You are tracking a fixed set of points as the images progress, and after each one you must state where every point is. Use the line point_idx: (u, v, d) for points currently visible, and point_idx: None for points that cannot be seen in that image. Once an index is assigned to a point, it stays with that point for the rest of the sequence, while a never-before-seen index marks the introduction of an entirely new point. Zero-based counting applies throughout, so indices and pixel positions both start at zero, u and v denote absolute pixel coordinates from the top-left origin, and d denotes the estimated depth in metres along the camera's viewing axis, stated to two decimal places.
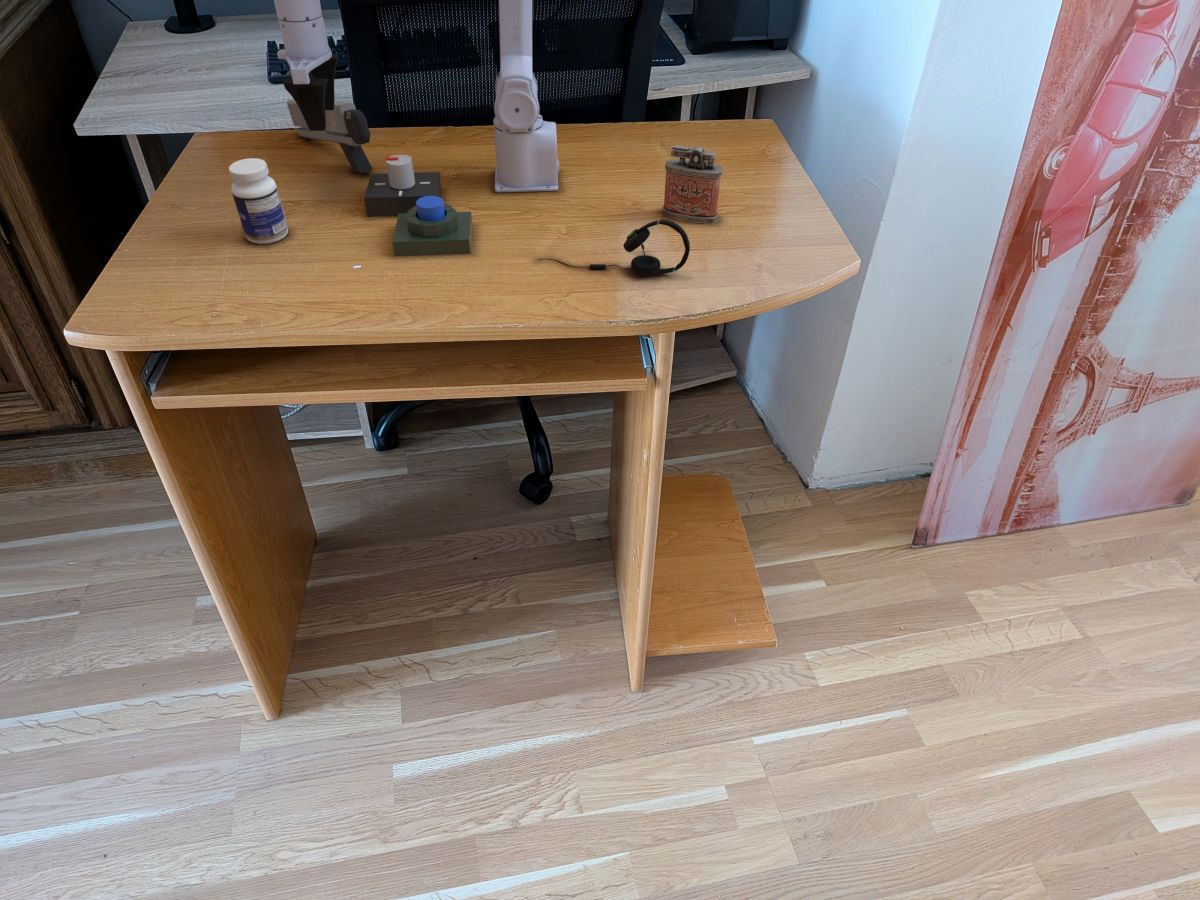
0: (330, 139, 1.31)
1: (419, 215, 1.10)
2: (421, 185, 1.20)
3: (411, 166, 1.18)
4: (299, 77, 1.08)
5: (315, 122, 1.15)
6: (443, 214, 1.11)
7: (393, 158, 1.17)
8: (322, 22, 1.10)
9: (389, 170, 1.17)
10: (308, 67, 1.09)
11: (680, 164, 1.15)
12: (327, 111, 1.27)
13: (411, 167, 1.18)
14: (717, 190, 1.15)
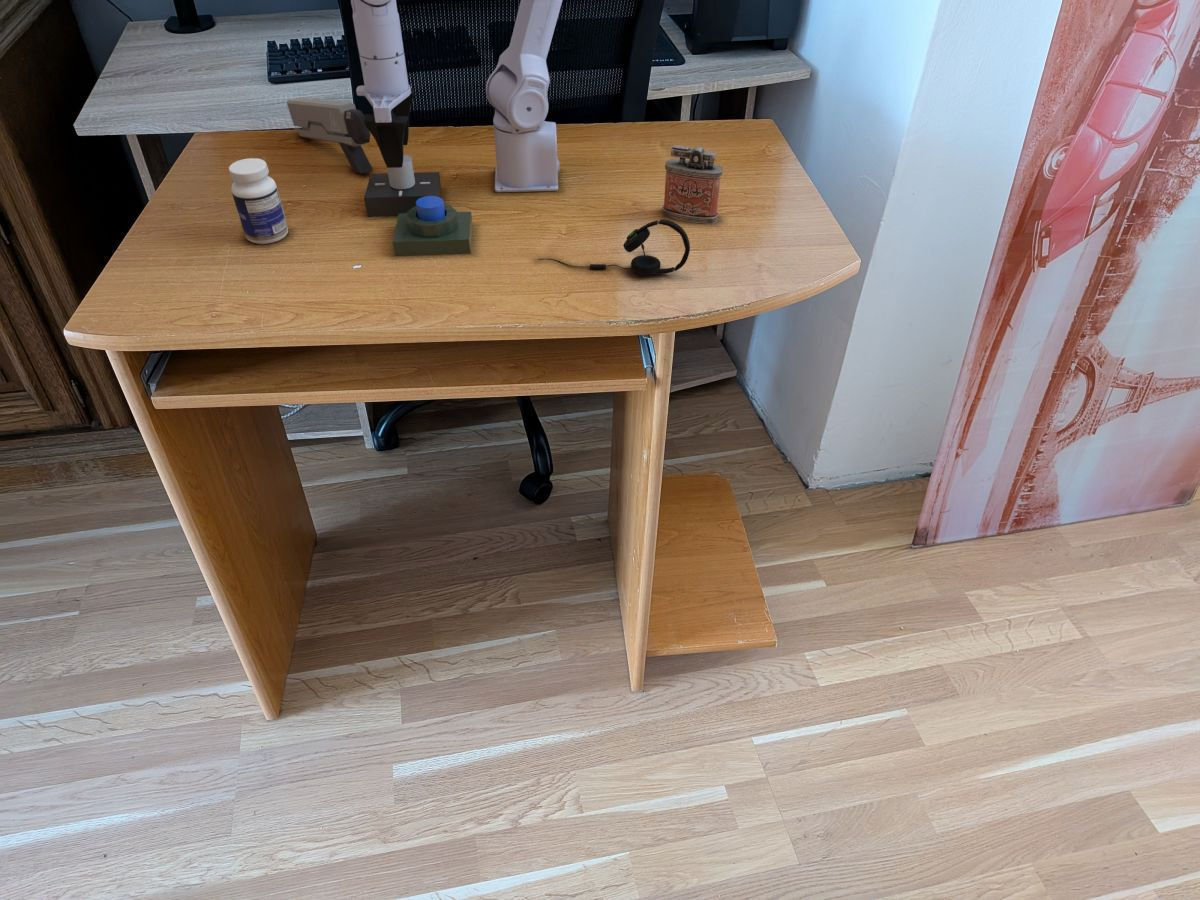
0: (330, 139, 1.31)
1: (419, 215, 1.10)
2: (421, 185, 1.20)
3: (411, 166, 1.18)
4: (382, 116, 1.06)
5: (393, 159, 1.13)
6: (443, 214, 1.11)
7: None
8: (404, 59, 1.08)
9: (389, 170, 1.17)
10: (390, 105, 1.07)
11: (680, 164, 1.15)
12: (327, 111, 1.27)
13: (411, 167, 1.18)
14: (717, 190, 1.15)
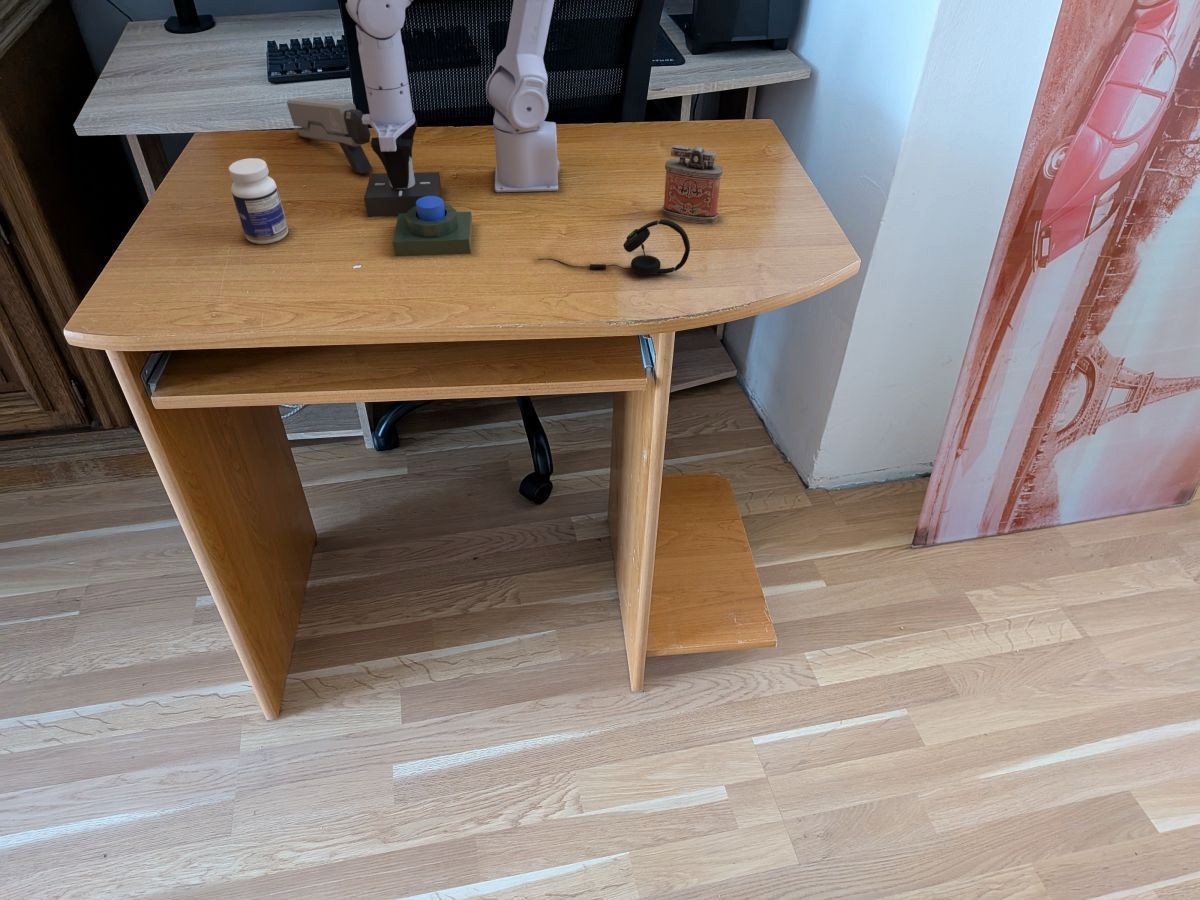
0: (330, 139, 1.31)
1: (419, 215, 1.10)
2: (421, 185, 1.20)
3: (411, 166, 1.18)
4: (387, 145, 1.09)
5: (399, 180, 1.17)
6: (443, 214, 1.11)
7: None
8: (408, 89, 1.11)
9: None
10: (395, 134, 1.09)
11: (680, 164, 1.15)
12: (327, 111, 1.27)
13: (411, 167, 1.18)
14: (717, 190, 1.15)
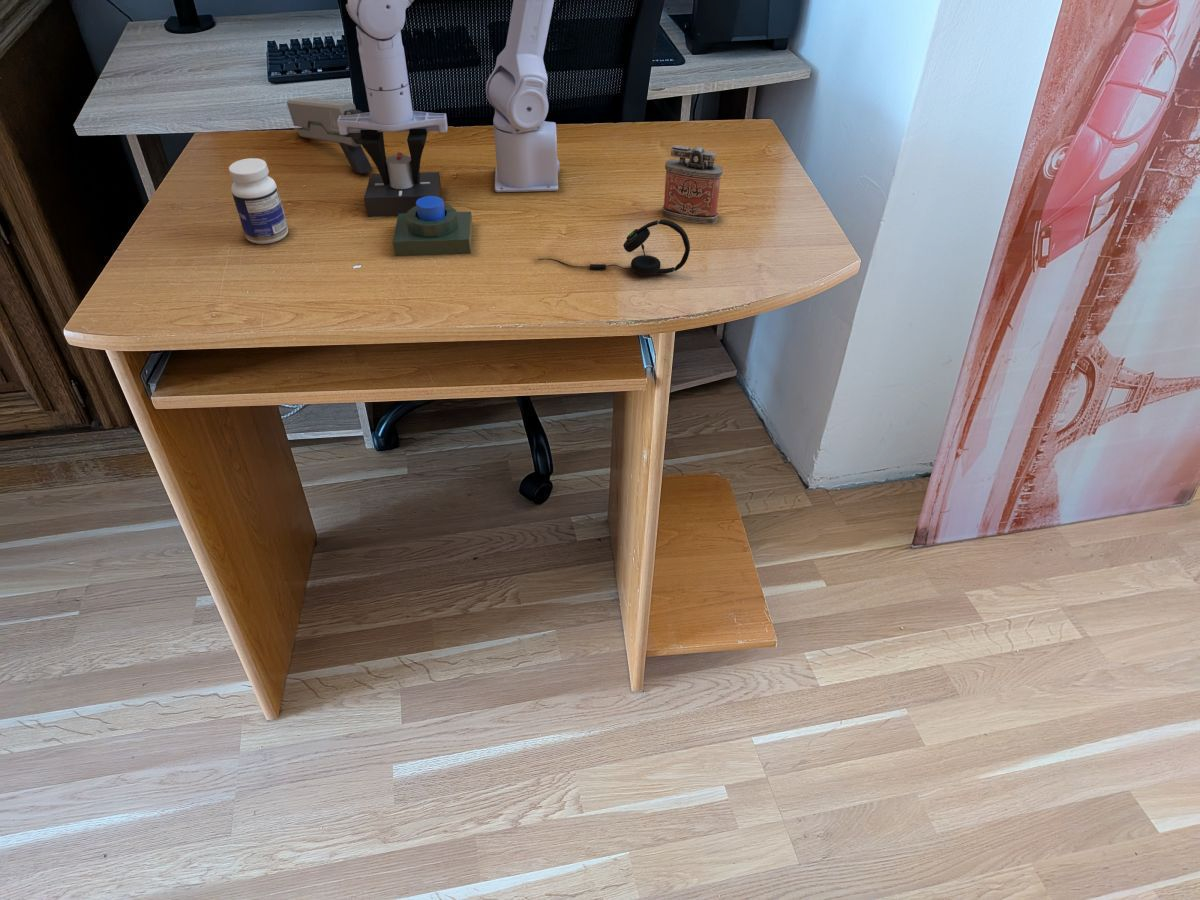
0: (330, 139, 1.31)
1: (419, 215, 1.10)
2: (421, 185, 1.20)
3: (394, 170, 1.17)
4: None
5: None
6: (443, 214, 1.11)
7: (397, 155, 1.18)
8: (382, 96, 1.09)
9: None
10: (346, 122, 1.12)
11: (680, 164, 1.15)
12: (327, 111, 1.27)
13: (395, 171, 1.17)
14: (717, 190, 1.15)
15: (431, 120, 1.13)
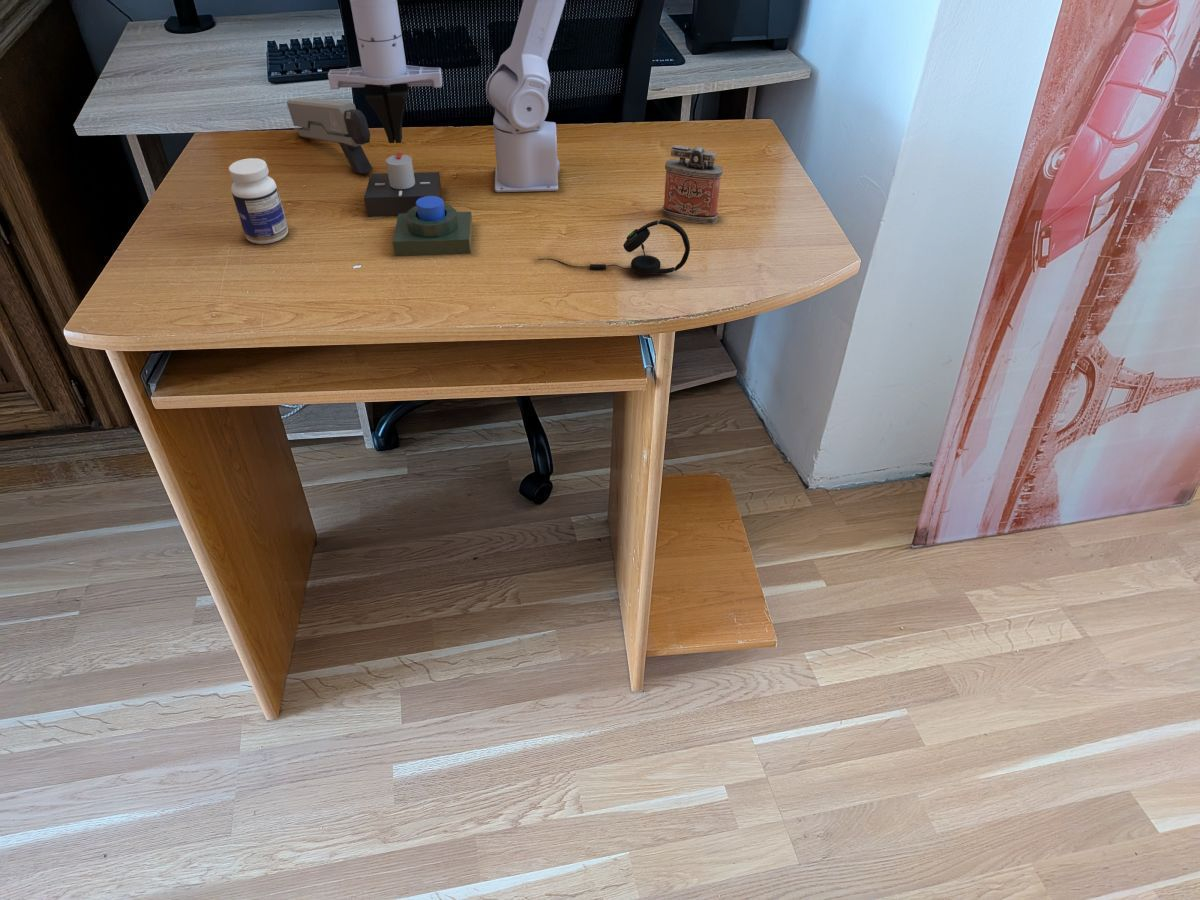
0: (330, 139, 1.31)
1: (419, 215, 1.10)
2: (421, 185, 1.20)
3: (394, 170, 1.17)
4: None
5: None
6: (443, 214, 1.11)
7: (397, 155, 1.18)
8: (374, 48, 1.05)
9: None
10: (336, 76, 1.08)
11: (680, 164, 1.15)
12: (327, 111, 1.27)
13: (395, 171, 1.17)
14: (717, 190, 1.15)
15: (425, 74, 1.09)
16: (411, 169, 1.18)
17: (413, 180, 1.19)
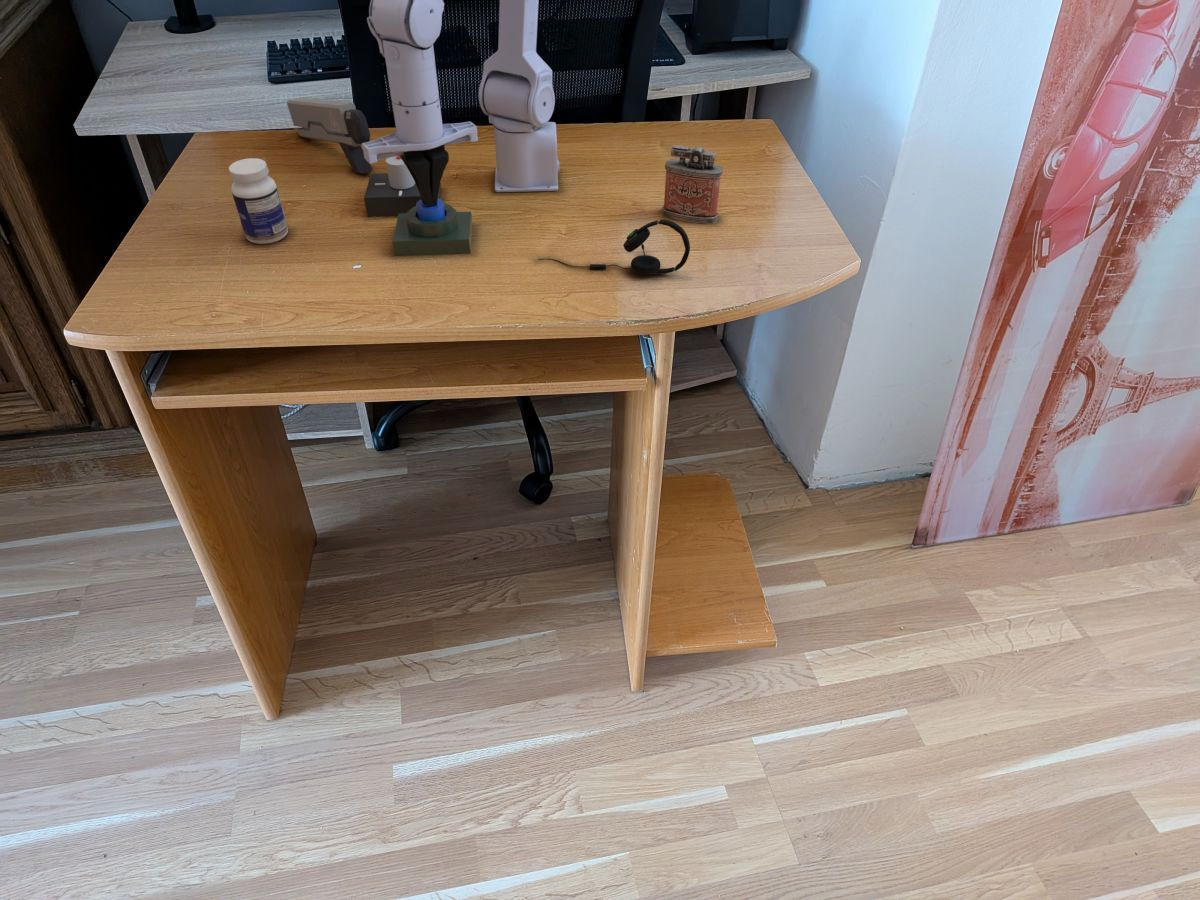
0: (330, 139, 1.31)
1: (419, 217, 1.10)
2: None
3: (394, 170, 1.17)
4: (365, 154, 1.02)
5: (423, 196, 1.09)
6: (443, 216, 1.11)
7: None
8: (421, 112, 1.00)
9: None
10: (377, 148, 1.01)
11: (680, 164, 1.15)
12: (327, 111, 1.27)
13: (395, 171, 1.17)
14: (717, 190, 1.15)
15: (464, 130, 1.05)
16: None
17: (413, 180, 1.19)
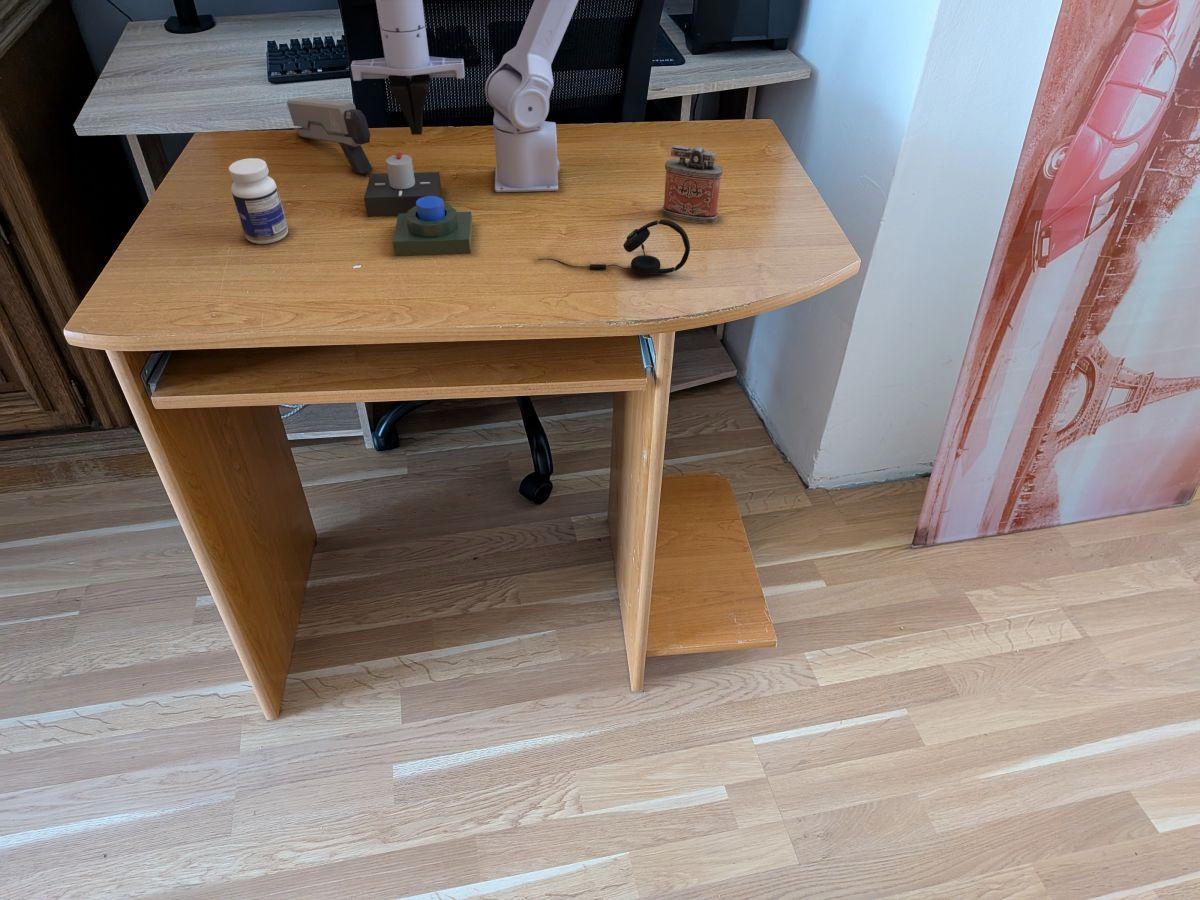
0: (330, 139, 1.31)
1: (419, 215, 1.10)
2: (421, 185, 1.20)
3: (394, 170, 1.17)
4: None
5: None
6: (443, 214, 1.11)
7: (397, 155, 1.18)
8: (398, 38, 1.05)
9: None
10: (360, 67, 1.08)
11: (680, 164, 1.15)
12: (327, 111, 1.27)
13: (395, 171, 1.17)
14: (717, 190, 1.15)
15: (448, 65, 1.09)
16: (411, 169, 1.18)
17: (413, 180, 1.19)
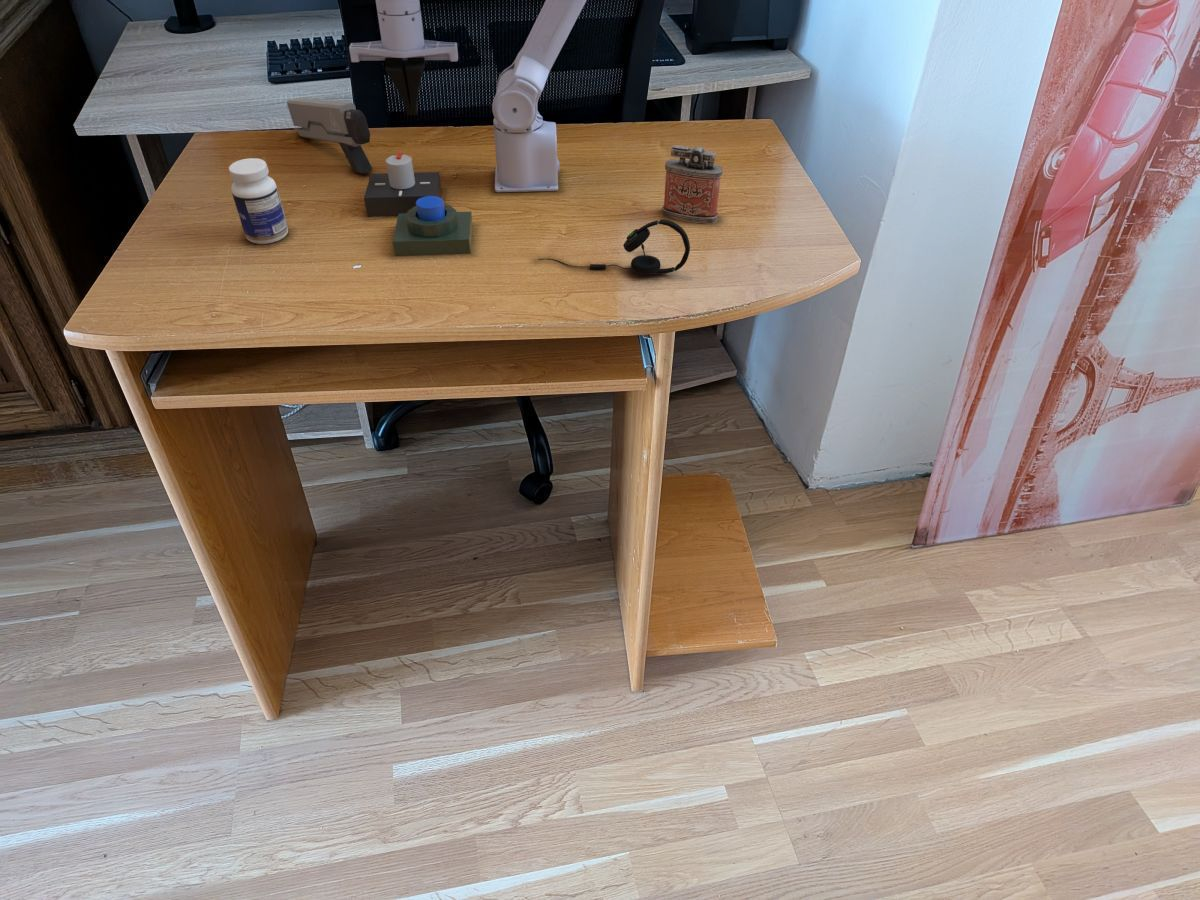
0: (330, 139, 1.31)
1: (419, 215, 1.10)
2: (421, 185, 1.20)
3: (394, 170, 1.17)
4: None
5: None
6: (443, 214, 1.11)
7: (397, 155, 1.18)
8: (394, 21, 1.10)
9: None
10: (357, 49, 1.13)
11: (680, 164, 1.15)
12: (327, 111, 1.27)
13: (395, 171, 1.17)
14: (717, 190, 1.15)
15: (442, 48, 1.14)
16: (411, 169, 1.18)
17: (413, 180, 1.19)
